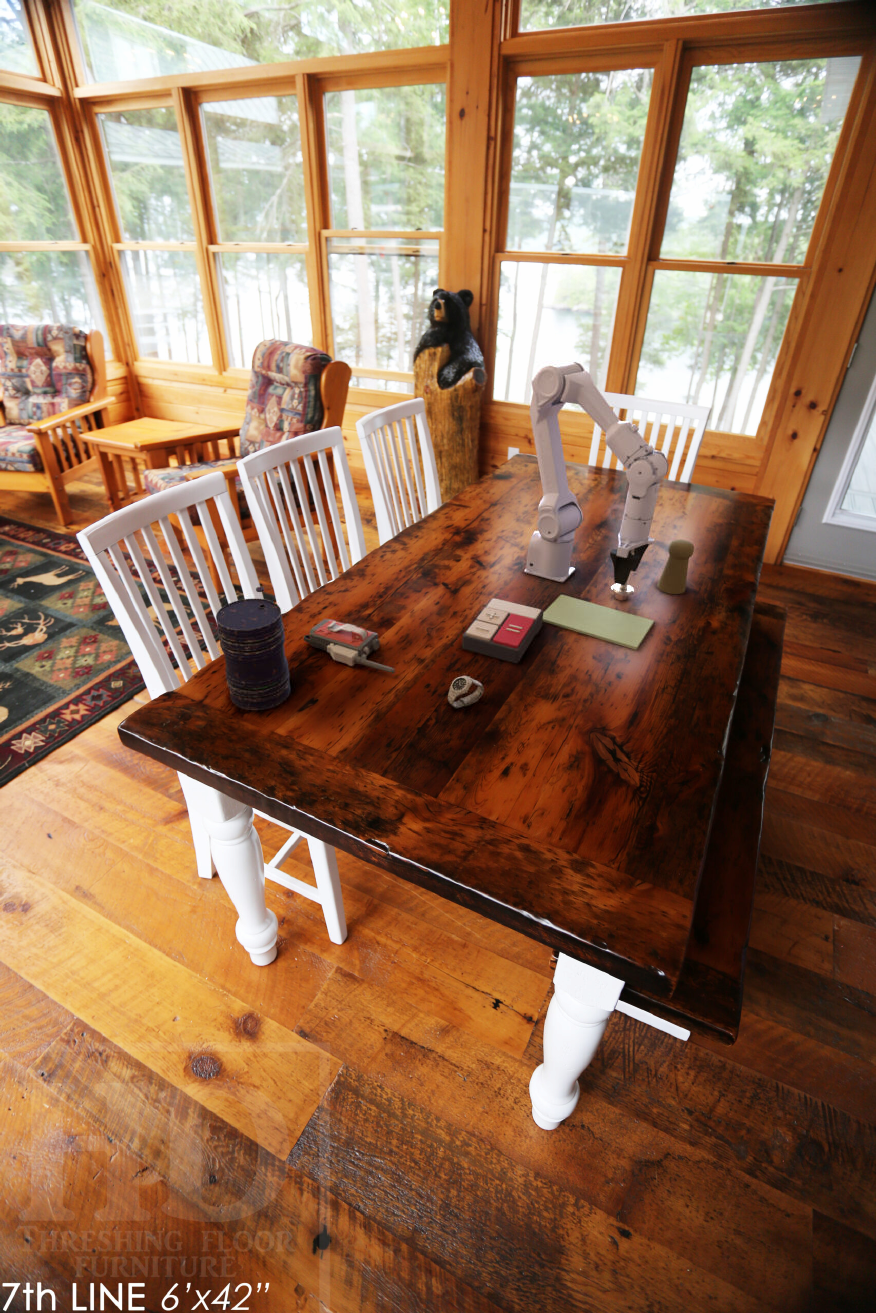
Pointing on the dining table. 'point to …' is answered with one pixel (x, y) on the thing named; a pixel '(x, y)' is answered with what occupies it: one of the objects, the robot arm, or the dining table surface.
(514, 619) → the calculator
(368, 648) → the walkie-talkie
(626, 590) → the screw
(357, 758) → the dining table surface
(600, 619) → the mat
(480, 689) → the wristwatch
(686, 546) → the olive pawn
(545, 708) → the dining table surface
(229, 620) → the dark blue cylinder
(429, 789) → the dining table surface
